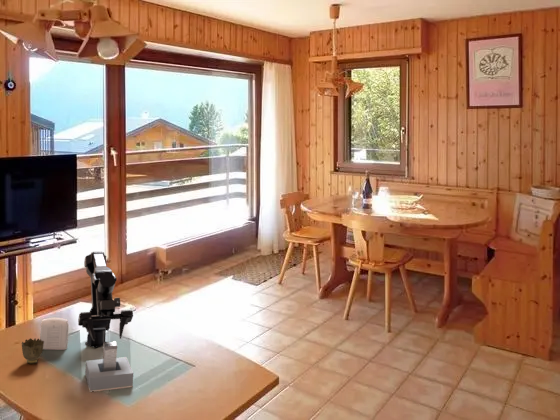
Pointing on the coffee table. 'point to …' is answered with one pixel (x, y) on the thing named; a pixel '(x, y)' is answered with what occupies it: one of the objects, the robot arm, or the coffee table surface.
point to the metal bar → (109, 356)
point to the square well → (108, 375)
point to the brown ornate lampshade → (32, 350)
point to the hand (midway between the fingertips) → (107, 339)
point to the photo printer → (54, 333)
